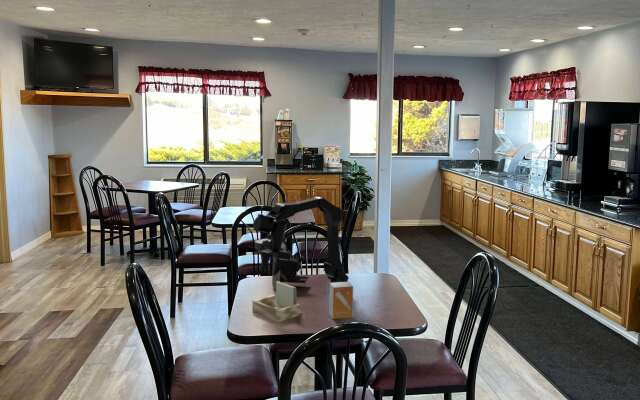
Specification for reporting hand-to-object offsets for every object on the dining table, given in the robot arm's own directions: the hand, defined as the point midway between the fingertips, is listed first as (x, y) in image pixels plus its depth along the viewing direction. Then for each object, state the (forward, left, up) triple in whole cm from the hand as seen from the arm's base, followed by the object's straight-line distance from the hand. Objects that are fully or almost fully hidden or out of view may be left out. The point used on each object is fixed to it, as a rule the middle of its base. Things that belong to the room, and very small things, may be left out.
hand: (268, 272), depth 222 cm
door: (-7, +1, -14) cm, 16 cm away
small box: (-29, +5, -16) cm, 34 cm away
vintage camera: (-4, -30, -16) cm, 34 cm away
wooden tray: (-4, +4, -15) cm, 17 cm away
